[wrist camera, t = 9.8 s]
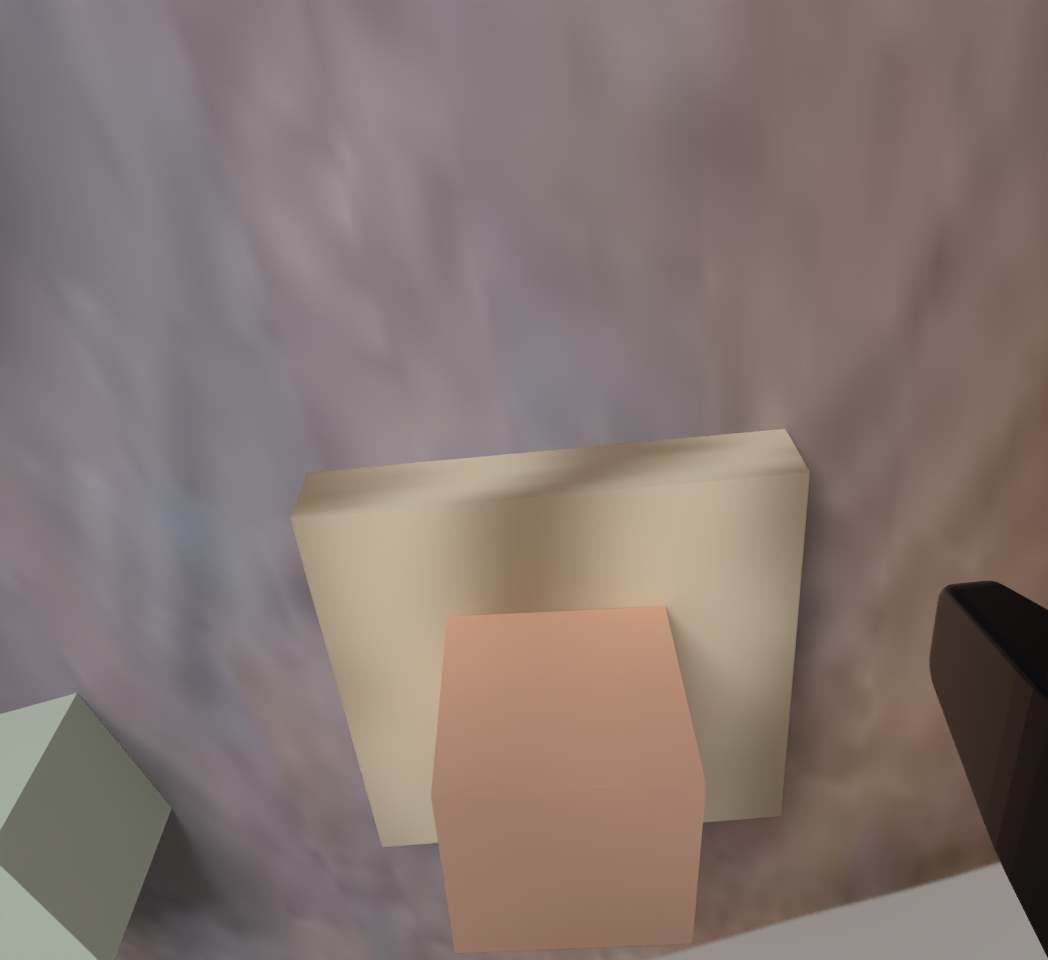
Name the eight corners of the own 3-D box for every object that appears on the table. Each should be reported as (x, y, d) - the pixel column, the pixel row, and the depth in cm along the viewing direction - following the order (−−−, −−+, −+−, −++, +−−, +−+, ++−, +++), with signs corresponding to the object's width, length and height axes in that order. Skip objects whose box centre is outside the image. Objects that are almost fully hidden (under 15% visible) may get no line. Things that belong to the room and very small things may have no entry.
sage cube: (78, 691, 24) (-13, 853, 20) (172, 805, 27) (110, 971, 22) (-78, 734, 25) (-198, 899, 21) (27, 841, 27) (-59, 1009, 23)
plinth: (778, 417, 21) (809, 472, 19) (758, 745, 26) (781, 816, 24) (312, 460, 21) (290, 518, 19) (392, 774, 27) (382, 847, 25)
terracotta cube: (665, 606, 20) (706, 784, 16) (658, 756, 23) (692, 944, 19) (447, 616, 20) (431, 795, 16) (464, 765, 23) (455, 953, 19)
